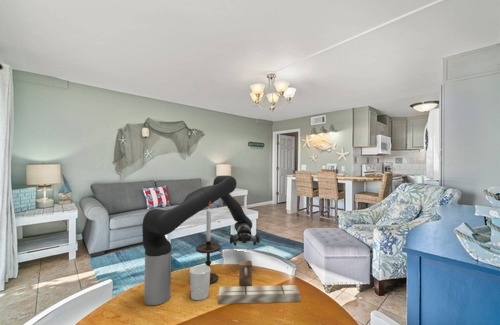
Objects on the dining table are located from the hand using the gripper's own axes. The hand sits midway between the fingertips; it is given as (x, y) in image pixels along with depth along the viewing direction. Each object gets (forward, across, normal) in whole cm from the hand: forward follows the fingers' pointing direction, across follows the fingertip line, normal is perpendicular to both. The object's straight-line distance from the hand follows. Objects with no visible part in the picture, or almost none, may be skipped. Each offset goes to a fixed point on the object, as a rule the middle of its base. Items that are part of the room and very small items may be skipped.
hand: (245, 243), depth 102 cm
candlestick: (+2, -16, +15) cm, 22 cm away
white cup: (+14, -18, +15) cm, 27 cm away
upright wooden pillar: (+14, 0, +15) cm, 20 cm away
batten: (+17, +5, +15) cm, 23 cm away
